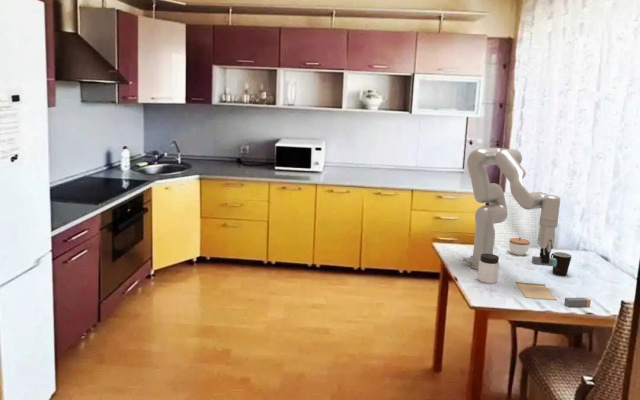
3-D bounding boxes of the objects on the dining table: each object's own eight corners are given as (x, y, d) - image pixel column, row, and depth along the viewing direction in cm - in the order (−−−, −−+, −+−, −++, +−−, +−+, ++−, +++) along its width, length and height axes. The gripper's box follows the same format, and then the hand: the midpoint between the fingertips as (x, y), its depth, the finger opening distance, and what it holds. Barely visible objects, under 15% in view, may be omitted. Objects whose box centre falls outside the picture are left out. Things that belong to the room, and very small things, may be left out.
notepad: (525, 297, 248) (526, 296, 248) (515, 283, 266) (515, 282, 266) (556, 300, 247) (556, 299, 247) (544, 285, 265) (544, 284, 265)
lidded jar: (504, 250, 320) (506, 234, 318) (522, 251, 321) (524, 235, 320) (513, 256, 310) (515, 239, 308) (531, 257, 311) (533, 240, 309)
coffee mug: (570, 277, 279) (573, 257, 277) (552, 275, 280) (554, 256, 278) (565, 270, 290) (568, 251, 288) (547, 268, 292) (550, 249, 290)
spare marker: (568, 307, 239) (569, 300, 239) (564, 304, 242) (565, 297, 242) (589, 306, 241) (590, 300, 241) (585, 304, 244) (586, 297, 243)
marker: (533, 264, 259) (534, 258, 258) (531, 262, 262) (532, 256, 261) (556, 266, 258) (557, 260, 257) (553, 264, 261) (554, 258, 260)
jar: (476, 281, 266) (479, 257, 263) (477, 276, 273) (480, 252, 271) (496, 284, 263) (499, 259, 261) (497, 279, 271) (499, 254, 268)
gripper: (535, 218, 264) (530, 256, 268) (545, 226, 248) (540, 266, 252) (551, 219, 264) (547, 257, 267) (562, 227, 248) (557, 268, 251)
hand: (544, 261), depth 259 cm, fingers closed on marker, 2 cm apart
